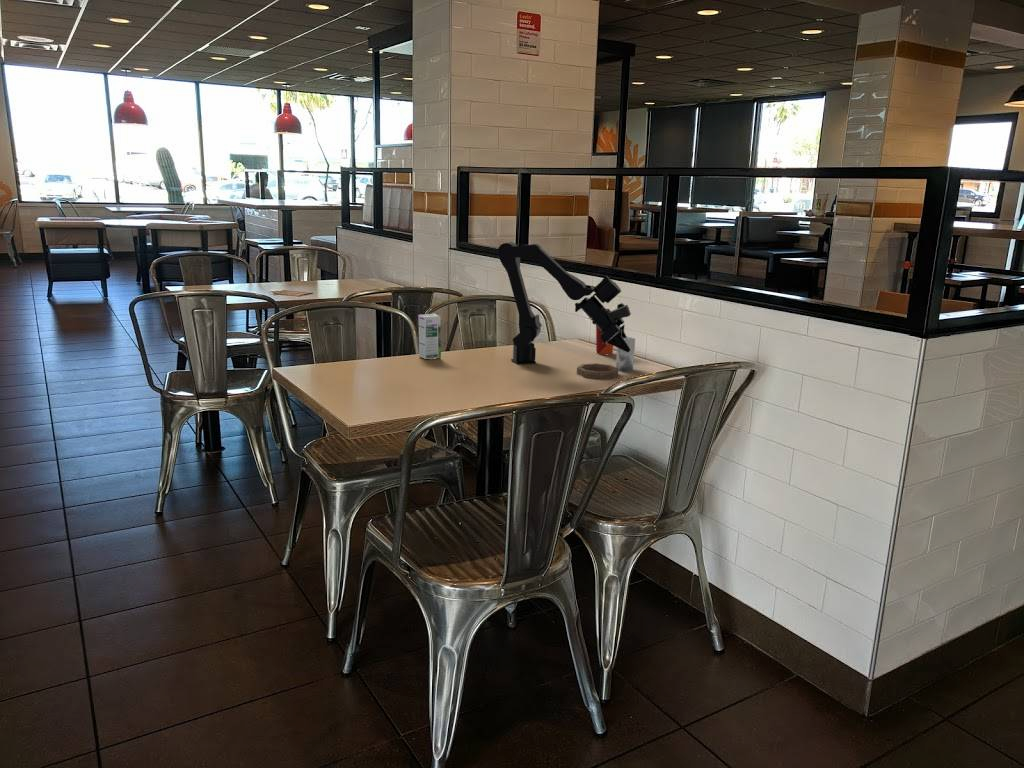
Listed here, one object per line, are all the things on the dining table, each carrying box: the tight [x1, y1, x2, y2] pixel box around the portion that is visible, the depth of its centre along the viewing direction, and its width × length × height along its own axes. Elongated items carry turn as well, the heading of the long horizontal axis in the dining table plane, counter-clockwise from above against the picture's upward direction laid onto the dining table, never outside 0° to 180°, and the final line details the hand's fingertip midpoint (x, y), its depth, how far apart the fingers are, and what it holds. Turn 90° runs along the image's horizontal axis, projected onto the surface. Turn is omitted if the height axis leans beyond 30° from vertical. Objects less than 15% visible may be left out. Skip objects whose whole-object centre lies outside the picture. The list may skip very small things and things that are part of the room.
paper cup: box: [595, 325, 614, 355], centre depth 267 cm, size 8×8×14 cm
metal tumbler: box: [615, 336, 636, 372], centre depth 243 cm, size 6×6×10 cm
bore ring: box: [576, 362, 619, 380], centre depth 237 cm, size 12×12×2 cm
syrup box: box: [417, 313, 442, 360], centre depth 253 cm, size 6×6×14 cm
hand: (630, 349), depth 243 cm, fingers closed on metal tumbler, 5 cm apart
